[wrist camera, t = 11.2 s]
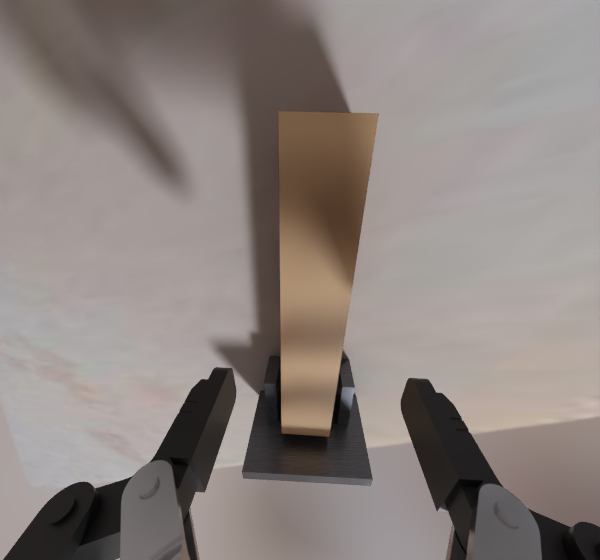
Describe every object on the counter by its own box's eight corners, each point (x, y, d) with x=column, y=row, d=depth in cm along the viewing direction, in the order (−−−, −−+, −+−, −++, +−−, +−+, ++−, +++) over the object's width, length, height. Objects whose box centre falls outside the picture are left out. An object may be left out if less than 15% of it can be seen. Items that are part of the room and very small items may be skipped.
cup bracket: (256, 355, 21) (234, 433, 15) (362, 360, 21) (384, 441, 15) (260, 397, 24) (243, 478, 18) (354, 402, 24) (370, 485, 17)
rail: (289, 129, 14) (278, 110, 9) (356, 132, 13) (378, 113, 9) (287, 382, 23) (281, 433, 19) (326, 385, 23) (329, 436, 19)
